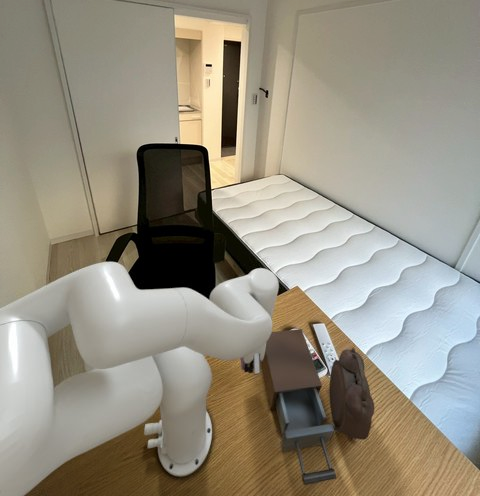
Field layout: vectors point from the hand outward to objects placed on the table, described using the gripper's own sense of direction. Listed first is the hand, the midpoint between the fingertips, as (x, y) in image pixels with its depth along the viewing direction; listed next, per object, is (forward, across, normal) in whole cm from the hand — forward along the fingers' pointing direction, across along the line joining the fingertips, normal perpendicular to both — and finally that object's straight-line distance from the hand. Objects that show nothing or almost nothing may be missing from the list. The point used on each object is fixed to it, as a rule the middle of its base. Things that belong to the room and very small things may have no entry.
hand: (248, 359), depth 67 cm
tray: (+7, +12, +12) cm, 19 cm away
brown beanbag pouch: (+8, +10, +24) cm, 28 cm away
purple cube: (0, 0, 0) cm, 0 cm away
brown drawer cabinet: (+8, 0, +12) cm, 14 cm away
